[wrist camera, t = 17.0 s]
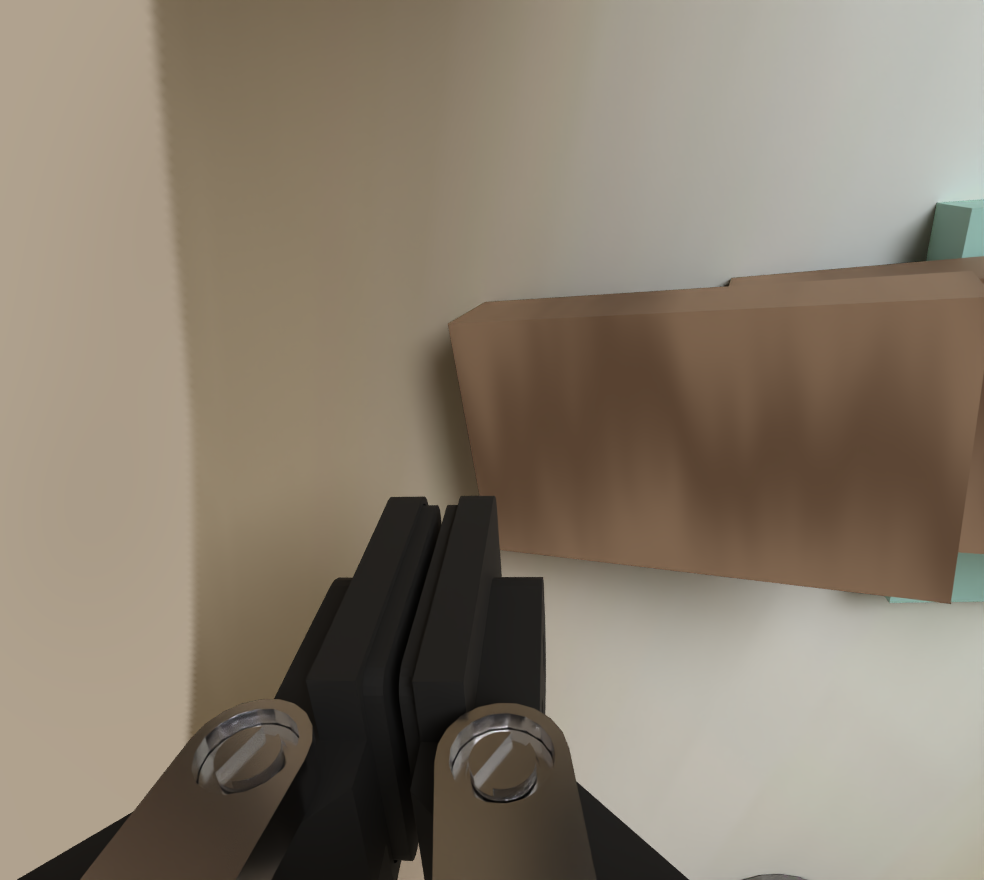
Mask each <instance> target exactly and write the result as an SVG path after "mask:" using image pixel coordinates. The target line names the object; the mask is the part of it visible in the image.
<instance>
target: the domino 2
mask: <svg viewBox="0 0 984 880" xmlns="http://www.w3.org/2000/svg"><path fill="white" fill-rule="evenodd" d="M960 271H973V272H974V274H975V275H976V276H977V277H978V278H979V279H980V280H981V282H982V283H983V284H984V256H980V257H968V258H957V259H945V260H934V261H922V262H910V263H899V264H887V265H876V266H864V267H853V268H841V269H830V270H818V271H807V272H795V273H783V274H772V275H760V276H749V277H737V278H731V281H730V284H729V286H743V285H758V284H774V283H790V282H805V281H821V280H836V279H852V278H867V277H883V276H898V275H914V274H929V273H945V272H960ZM958 552H959V553H974V554H984V375H983V382H982V389H981V396H980V403H979V410H978V417H977V424H976V431H975V438H974V445H973V452H972V459H971V466H970V473H969V480H968V487H967V494H966V501H965V508H964V515H963V522H962V529H961V536H960V543H959V550H958Z"/></svg>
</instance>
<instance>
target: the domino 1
mask: <svg viewBox="0 0 984 880" xmlns="http://www.w3.org/2000/svg"><path fill="white" fill-rule="evenodd" d="M448 327H449V332H450V338H451V343H452V349H453V354H454V359H455V365H456V370H457V376H458V381H459V387H460V392H461V398H462V403H463V408H464V414H465V419H466V425H467V430H468V436H469V441H470V446H471V452H472V457H473V463H474V468H475V474H476V479H477V485H478V490H479V495H480V496H495V497H496V503H497V516H498V530H499V545H500V550H506V551H514V552H523V553H531V554H539V555H548V556H556V557H564V558H573V559H581V560H589V561H598V562H606V563H614V564H623V565H631V566H639V567H648V568H656V569H664V570H673V571H681V572H689V573H698V574H706V575H714V576H723V577H731V578H740V579H748V580H756V581H765V582H773V583H781V584H790V585H798V586H806V587H815V588H823V589H831V590H840V591H848V592H856V593H865V594H873V595H881V596H890V597H898V598H906V599H915V600H923V601H931V602H940V603H948V604H951V599H952V592H953V585H954V578H955V571H956V564H957V557H958V550H959V543H960V536H961V529H962V522H963V515H964V508H965V501H966V494H967V487H968V480H969V473H970V466H971V459H972V452H973V445H974V438H975V431H976V424H977V417H978V410H979V403H980V396H981V389H982V382H983V375H984V284H983V283H982V282H981V280H980V279H979V278H978V277H977V276H976V275H975V274H974V272H973V271H960V272H945V273H929V274H914V275H898V276H883V277H867V278H852V279H836V280H821V281H805V282H790V283H774V284H758V285H743V286H727V287H712V288H696V289H681V290H665V291H650V292H634V293H619V294H603V295H588V296H572V297H557V298H541V299H526V300H510V301H495V302H485V303H483V304H481V305H479V306H478V307H476V308H474V309H472V310H471V311H469V312H467V313H466V314H464V315H462V316H460V317H459V318H457V319H455V320H454V321H452V322H450V323H448Z"/></svg>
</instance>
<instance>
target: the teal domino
mask: <svg viewBox="0 0 984 880" xmlns="http://www.w3.org/2000/svg"><path fill="white" fill-rule="evenodd" d="M980 256H984V200H970V201H956V202H941V203H937V204H936V210H935V215H934V220H933V226H932V231H931V237H930V242H929V247H928V253H927V258H926V261H934V260H945V259H957V258H968V257H980ZM885 597H886V599H887V600H888V601H889V603H906V602H931V601H923V600H915V599H906V598H898V597H890V596H885ZM951 602H984V554H974V553H959V552H958V557H957V564H956V571H955V578H954V585H953V592H952V599H951Z"/></svg>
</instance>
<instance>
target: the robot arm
mask: <svg viewBox="0 0 984 880" xmlns="http://www.w3.org/2000/svg"><path fill="white" fill-rule="evenodd" d="M545 694H546V642H545V606H544V583H543V577H502V575H501V560H500V545H499V530H498V516H497V503H496V497H495V496H461V497H460V499H459V503H458V505H448V506H447V508H446V511H445V515H444V518H443V522H442V524H441V515H440V509H439V506H438V505H428V502H427V499H426V497H390V499H389V500H388V502H387V504H386V507H385V509H384V511H383V513H382V515H381V518H380V520H379V522H378V524H377V526H376V528H375V531H374V533H373V535H372V537H371V539H370V542H369V544H368V546H367V548H366V550H365V552H364V555H363V557H362V559H361V561H360V563H359V565H358V568H357V570H356V572H355V574H354V576H353V578H337V579H335V580H334V582H333V583H332V585H331V586H330V588H329V590H328V592H327V594H326V596H325V598H324V600H323V602H322V604H321V606H320V608H319V610H318V612H317V614H316V616H315V618H314V620H313V622H312V624H311V626H310V628H309V630H308V632H307V634H306V636H305V638H304V640H303V642H302V644H301V646H300V648H299V650H298V652H297V654H296V656H295V658H294V660H293V662H292V664H291V666H290V668H289V670H288V672H287V674H286V676H285V678H284V680H283V682H282V684H281V686H280V688H279V690H278V692H277V694H276V696H275V698H274V699H260V700H256V701H251V702H246V703H242V704H240V705H238V706H235V707H233V708H231V709H228V710H226V711H224V712H222V713H221V714H219V715H218V716H216V717H215V718H213V719H212V720H210V721H209V722H207V723H206V724H205V725H204V726H203V727H202V728H201V729H200V730H199V731H198V732H197V733H196V734H195V735H194V736H193V737H192V738H191V739H190V740H189V741H188V743H187V744H186V745H185V746H184V748H183V749H182V750H181V752H180V753H179V754H178V755H177V757H176V758H175V759H174V760H173V762H172V763H171V764H170V766H169V767H168V768H167V769H166V771H165V772H164V773H163V775H162V776H161V777H160V778H159V780H158V781H157V782H156V784H155V785H154V786H153V787H152V788H151V790H150V791H149V792H148V794H147V795H146V796H145V797H144V799H143V800H142V801H141V803H140V804H139V805H138V806H137V808H136V809H135V810H134V811H133V812H132V813H130V814H128V815H127V816H125V817H123V818H122V819H120V820H118V821H116V822H115V823H113V824H112V825H110V826H108V827H106V828H104V829H103V830H101V831H100V832H98V833H96V834H94V835H93V836H91V837H89V838H87V839H86V840H84V841H82V842H81V843H79V844H77V845H75V846H74V847H72V848H70V849H69V850H67V851H65V852H63V853H62V854H60V855H58V856H57V857H55V858H54V859H52V860H50V861H48V862H46V863H45V864H43V865H41V866H40V867H38V868H36V869H35V870H33V871H31V872H30V873H28V874H26V875H24V876H23V877H21V878H19V879H17V880H397V878H398V873H399V868H400V864H401V860H403V861H413V860H414V858H415V855H416V852H417V847H418V842H419V847H420V854H421V860H422V866H423V872H424V879H425V880H689V879H687V878H686V877H685V876H684V875H683V874H682V873H681V872H679V871H678V870H677V869H676V868H675V867H674V866H673V865H671V864H670V863H669V862H668V861H667V860H666V859H665V858H663V857H662V856H661V855H660V854H659V853H658V852H657V851H655V850H654V849H653V848H652V847H651V846H650V845H649V844H647V843H646V842H645V841H644V840H643V839H642V838H641V837H639V836H638V835H637V834H636V833H635V832H634V831H632V830H631V829H630V828H629V827H628V826H627V825H626V824H624V823H623V822H622V821H621V820H620V819H619V818H618V817H616V816H615V815H614V814H613V813H612V812H611V811H610V810H608V809H607V808H606V807H605V806H604V805H603V804H602V803H600V802H599V801H598V800H597V799H596V798H595V797H594V796H592V795H591V794H590V793H589V792H588V791H587V790H586V789H584V788H583V787H582V786H581V785H580V784H579V783H578V782H576V778H575V773H574V769H573V764H572V759H571V754H570V750H569V746H568V744H567V742H566V739H565V737H564V734H563V732H562V731H561V729H560V728H559V727H558V726H557V725H556V724H555V723H554V722H553V720H552V719H551V718H549V717H548V716H546V715H545Z"/></svg>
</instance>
